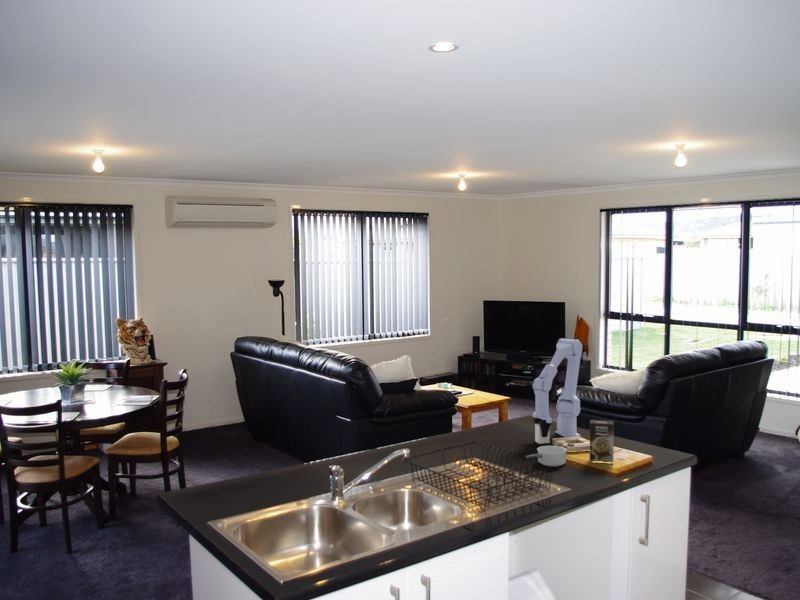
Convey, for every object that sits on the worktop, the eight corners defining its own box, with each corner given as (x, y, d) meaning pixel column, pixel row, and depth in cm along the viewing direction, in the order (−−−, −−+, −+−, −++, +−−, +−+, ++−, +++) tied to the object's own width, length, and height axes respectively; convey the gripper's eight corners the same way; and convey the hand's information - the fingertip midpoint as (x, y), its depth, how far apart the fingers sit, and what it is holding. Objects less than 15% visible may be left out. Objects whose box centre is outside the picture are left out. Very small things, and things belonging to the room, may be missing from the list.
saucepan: (515, 466, 263) (515, 452, 263) (550, 457, 275) (550, 444, 274) (537, 474, 254) (537, 459, 253) (573, 464, 265) (572, 450, 265)
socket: (552, 444, 294) (552, 437, 294) (579, 441, 297) (579, 434, 297) (569, 453, 280) (568, 446, 279) (597, 450, 283) (597, 443, 282)
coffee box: (589, 463, 265) (589, 422, 264) (589, 458, 271) (589, 419, 271) (613, 464, 263) (613, 424, 262) (613, 460, 269) (613, 420, 268)
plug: (535, 441, 299) (535, 423, 299) (549, 440, 301) (549, 422, 300) (539, 443, 295) (539, 425, 295) (553, 442, 297) (553, 424, 297)
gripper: (526, 402, 303) (526, 432, 304) (541, 409, 289) (541, 440, 290) (541, 401, 305) (541, 431, 305) (556, 408, 291) (556, 439, 291)
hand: (542, 435), depth 298 cm, fingers closed on plug, 4 cm apart
